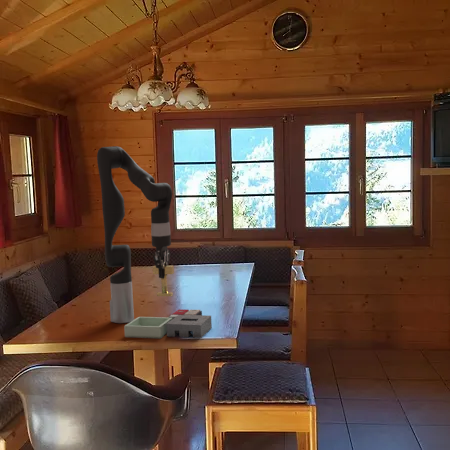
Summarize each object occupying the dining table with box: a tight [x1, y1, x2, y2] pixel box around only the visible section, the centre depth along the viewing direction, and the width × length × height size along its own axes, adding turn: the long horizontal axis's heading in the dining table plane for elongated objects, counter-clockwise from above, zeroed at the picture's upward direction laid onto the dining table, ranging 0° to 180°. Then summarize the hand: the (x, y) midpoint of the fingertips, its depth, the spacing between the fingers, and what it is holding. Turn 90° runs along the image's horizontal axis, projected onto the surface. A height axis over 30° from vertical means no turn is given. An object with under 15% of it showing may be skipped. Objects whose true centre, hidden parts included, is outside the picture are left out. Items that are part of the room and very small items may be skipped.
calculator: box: [167, 308, 203, 319], centre depth 247 cm, size 11×4×15 cm
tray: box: [123, 316, 173, 339], centre depth 231 cm, size 15×14×4 cm
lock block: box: [166, 314, 213, 339], centre depth 230 cm, size 14×14×5 cm
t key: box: [152, 265, 175, 297], centre depth 230 cm, size 8×2×12 cm, turn 76°
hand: (163, 276), depth 229 cm, fingers closed on t key, 2 cm apart
